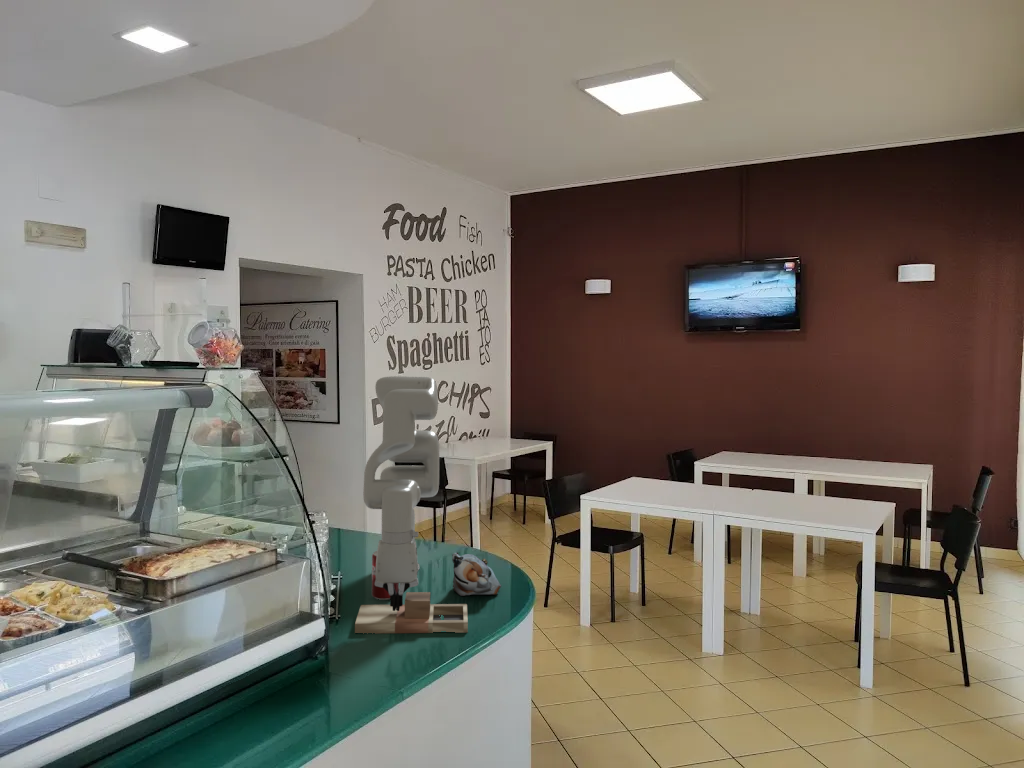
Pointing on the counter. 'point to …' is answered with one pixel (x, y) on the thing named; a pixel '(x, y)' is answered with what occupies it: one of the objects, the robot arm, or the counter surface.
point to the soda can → (377, 591)
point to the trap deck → (395, 622)
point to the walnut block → (417, 605)
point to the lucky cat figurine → (473, 576)
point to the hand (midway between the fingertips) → (396, 608)
